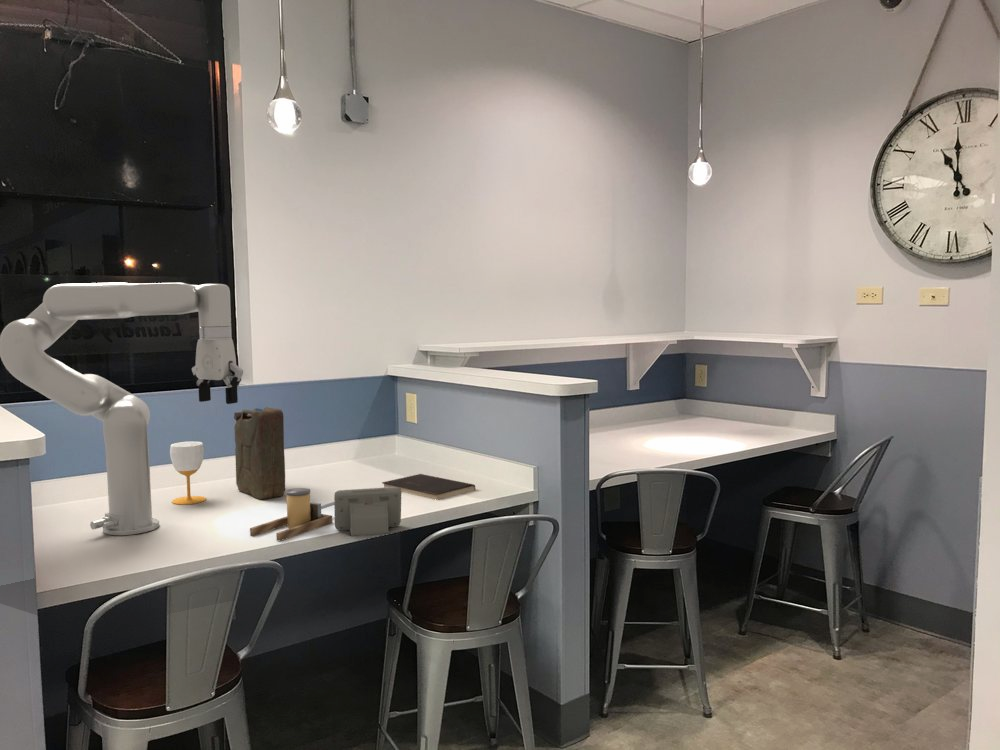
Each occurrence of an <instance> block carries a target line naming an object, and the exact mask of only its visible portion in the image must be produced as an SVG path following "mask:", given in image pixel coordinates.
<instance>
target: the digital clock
mask: <svg viewBox="0 0 1000 750" xmlns="http://www.w3.org/2000/svg"><path fill="white" fill-rule="evenodd" d="M333 495H334V498H333V500H334V501H333V502H334V505H333V506H334V528H335V529H336V530H338V531H349V532H350V536H352V537H355V536H370V535H371V536H372V535H382V534H384V535H386V534H389V528H395V527H398V526H400V525H401V523H402V492H401V488H399V487H384V486H383V487H370V488H368V487H367V488H353V489H352V488H350V489H342V490H336V491H335V492H334V494H333Z"/></svg>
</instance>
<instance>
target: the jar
mask: <svg viewBox="0 0 1000 750" xmlns="http://www.w3.org/2000/svg"><path fill="white" fill-rule="evenodd" d="M285 494H286V516H287V525H286V526H287V529H290V528H293V527H296V526H299V525H302V524H305V523H308V522H311V511H310V502H311V489H310V488H307V487H295V488H289V489H287V490H285Z"/></svg>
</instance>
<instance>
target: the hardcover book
mask: <svg viewBox="0 0 1000 750" xmlns="http://www.w3.org/2000/svg"><path fill="white" fill-rule="evenodd" d="M381 484H383V488H384V487H399V488H401V493H405V494H410V495H414V496H418V497H421V498H422V497H423V498H427V499H430V498H431V499H432V500H435V499H436V501H437V499H438V500H441V498H442V499H445V497H446V498H449V496H450V497H453V496H456V495H460V494H465V493H468V491H469V492H472V490H473V491H476V485H475V484H473V483H468V482H464V481H459V480H453V479H448V478H443V477H438V476H433V475H428V474H423V473H417V474H415V475H409V476H404V477H400V478H396V479H391V480H387V481H386V480H385V481H382V482H381Z"/></svg>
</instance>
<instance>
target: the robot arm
mask: <svg viewBox="0 0 1000 750" xmlns="http://www.w3.org/2000/svg"><path fill="white" fill-rule="evenodd" d="M231 309H232V308H231V291H230V287H229V286H228V285H227V284H225V283H224V284H223V283H203V284H199V285H198V284H190V283H185V282H161V283H160V282H158V283H156V282H154V283H153V282H152V283H151V282H150V283H131V282H130V283H128V282H97V283H96V282H91V283H86V282H85V283H60V284H55V285H53V286H50V287H49V288H48V289H46V291H45V292H44V294H43V298H42V303H41V304H39V305H38V307H36V308H35V309H34V310H33V311H31V312H30V313H29V315H27V316H26V317H25V318H19V319H16V320H13V321H12V322H10V323H8V324H7V325H6V326H4V327H3V329H2V331H1V333H0V359H1V362H2V364H3V365H4V367H5V369H6V370H7V371H8V373H9V374H11V376H12V377H14V378H15V379H16V380H18V381H20V383H23V384H24V385H25V386H27V387H28V388H31V389H32V390H34V391H35V392H38V393H39V394H41V395H43V396H45V397H46V398H47V399H49V400H51V401H53V402H54V403H56V404H58V405H60V406H61V407H63V408H65V409H66V410H68V411H70V412H71V413H73V414H75V415H78V416H83V417H87V416H91V417H93V418H95V419H97V420H99V421H100V422H102V431H103V432H102V433H103V439H104V447H105V463H106V475H107V476H106V477H107V479H106V480H107V495H108V496H107V498H108V512H106V513H104V517H103V518H102V519H96V520H93V521H91V522H90V524H89V526H90V528H91V530H93V531H94V530H97V529H101V528H102V532H103V533H104V534H106V535H109V536H110V535H112V536H129V535H137V534H143V533H148V532H151V531H153V530H155V529H157V528H158V527H159V526H160V520H158V519H157V518H155V517H153V509H152V488H151V487H152V486H151V469H150V468H151V466H150V451H149V449H150V447H149V437H148V436H149V435H148V425H149V423H150V419H151V413H150V408H149V406H148V404H146V402H145V401H144V400H142V399H141V398H139V397H138V396H137V395H134V394H132V393H131V392H130V391H127V390H126V389H124V388H122V387H120V386H119V385H117V384H115V383H113V382H112V381H110V380H108V379H106V378H105V377H102V376H100V375H99V374H93V373H84V374H82V373H81V372H79V371H77V370H75V369H74V368H71V367H70V366H69V365H66V364H65V363H64V362H62V361H60V360H58V359H56V358H53V357H52V356H50V355H49V354H47V353H46V352H45V350H47V349H48V348H50V347H51V346H52V345H53V344H54V343H55V342H56V341H58V339H59V338H61V336H63V335H64V334H65V333H66V332H67V331H68V330H69V329H71V328H72V326H73V325H74V324H76V323H77V321H78V320H80V321H82V320H103V319H105V320H107V319H109V320H110V319H128V318H131V317H132V318H133V317H140V316H142V317H143V316H162V315H163V316H165V315H169V316H170V315H184V314H185V315H186V314H191V313H197V312H198V325H199V326H198V329H199V330H198V333H199V339H197V343H196V350H195V351H196V352H195V365H194V366H192V368H191V372H192V374H193V379H194V380H195V382H196V386H198V401H199V402H200V403H202V402H203V403H204V402H210V401H211V399H212V397H211V395H212V393H211V384H209V383H210V382H211V381H221V380H223V382H224V384H225V385H226V387H225V403H226V404H227V405H232V404H238V401H239V399H238V387H239V386H240V383H241V382H242V377H243V375H244V374H243V373H244V370H243V369H242V368H241V367H240V366H238V365H237V358H236V351H235V345H234V340H233V339H232V337H233V336H232V317H231V316H232V313H231Z"/></svg>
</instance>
